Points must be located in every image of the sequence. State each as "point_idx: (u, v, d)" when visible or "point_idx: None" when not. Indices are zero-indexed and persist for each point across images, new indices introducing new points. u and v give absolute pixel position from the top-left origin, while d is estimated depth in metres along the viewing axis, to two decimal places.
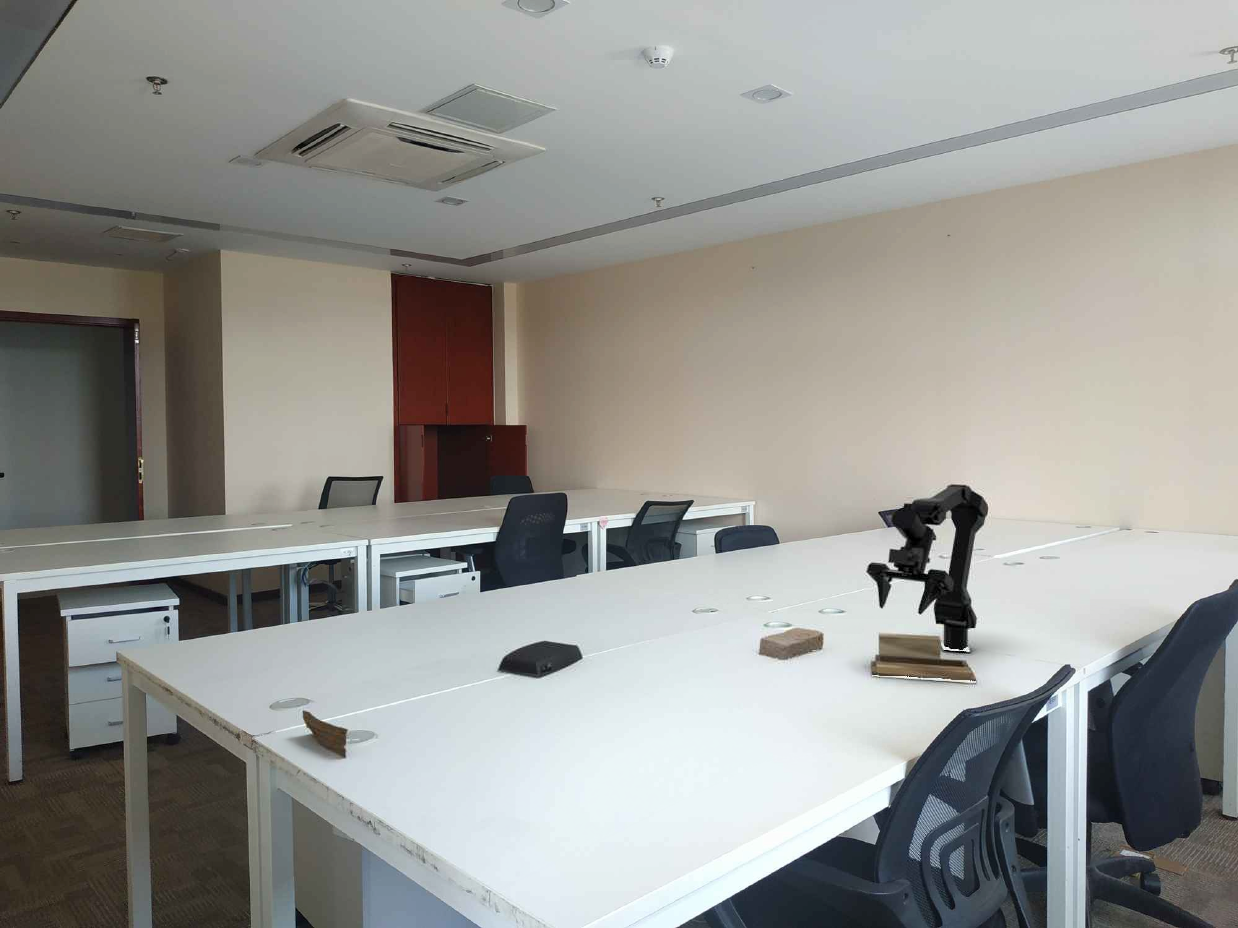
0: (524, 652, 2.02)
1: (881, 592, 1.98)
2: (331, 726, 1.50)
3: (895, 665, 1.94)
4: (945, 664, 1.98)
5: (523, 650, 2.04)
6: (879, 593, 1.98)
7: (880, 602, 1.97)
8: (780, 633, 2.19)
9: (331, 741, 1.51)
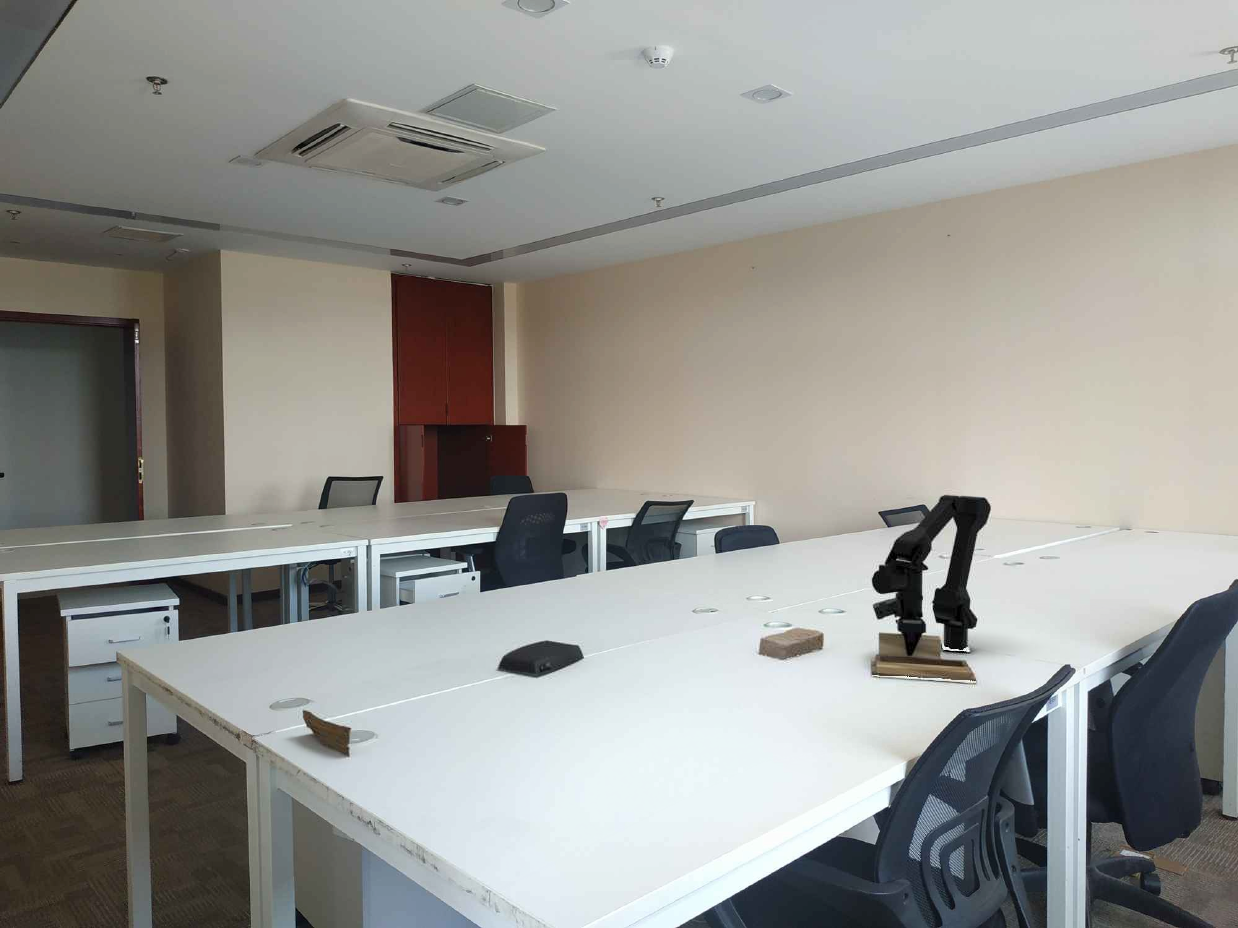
0: (524, 652, 2.03)
1: None
2: (333, 725, 1.51)
3: (895, 665, 1.94)
4: (945, 664, 1.98)
5: (523, 649, 2.05)
6: None
7: None
8: (780, 633, 2.19)
9: (333, 740, 1.51)
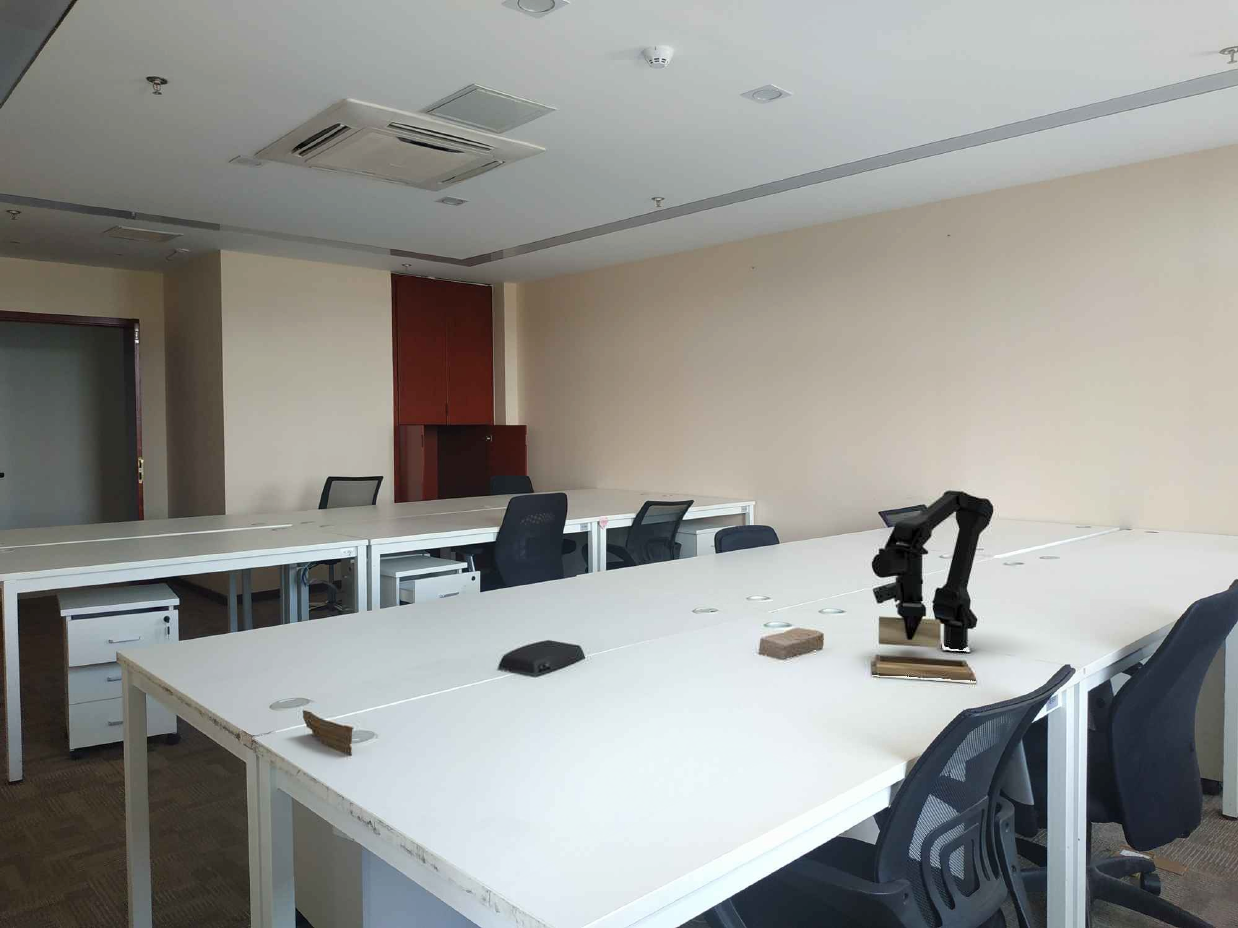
0: (525, 651, 2.03)
1: None
2: (335, 725, 1.51)
3: (895, 665, 1.94)
4: (945, 664, 1.98)
5: (524, 649, 2.06)
6: None
7: None
8: (780, 633, 2.19)
9: (335, 739, 1.52)
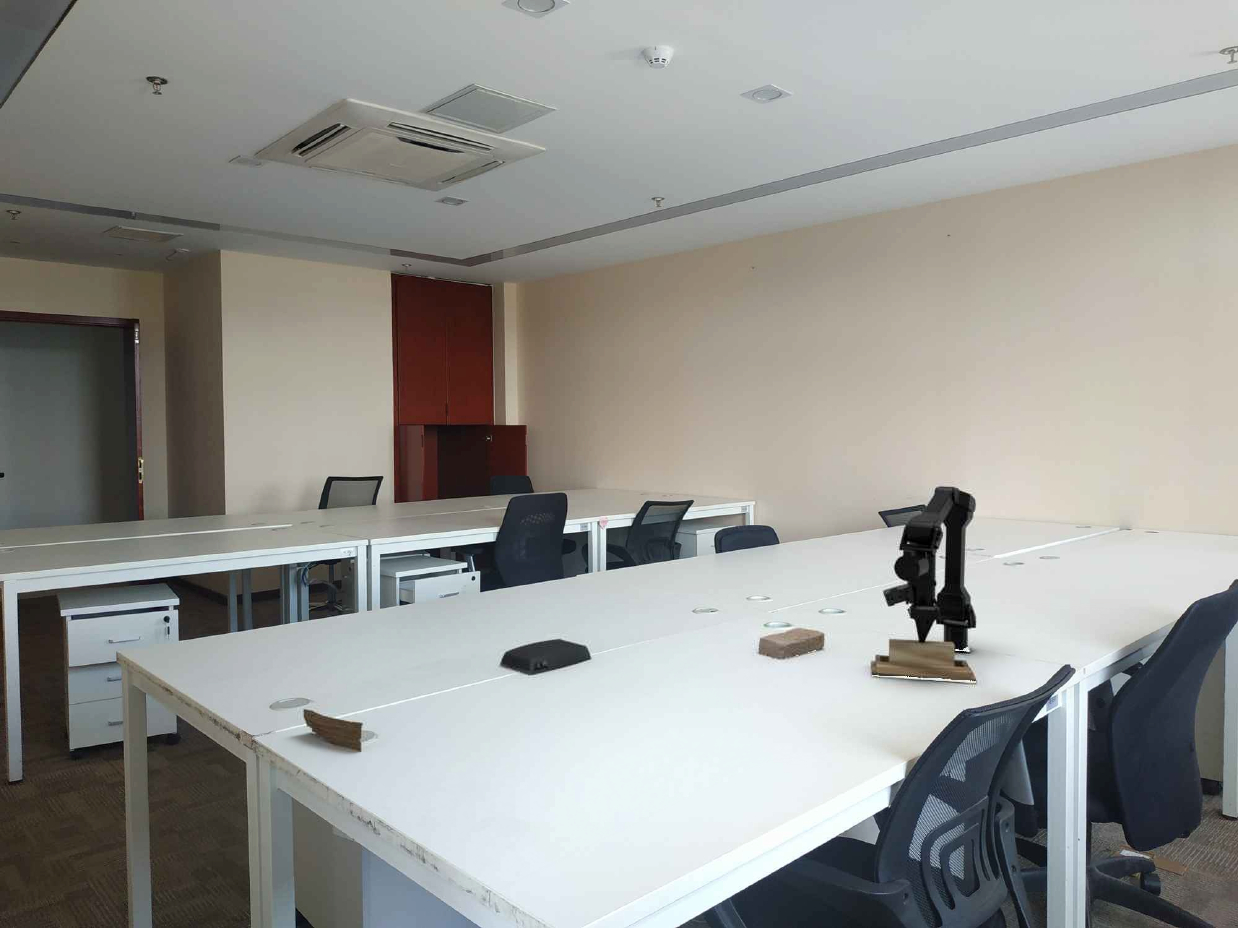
0: (527, 649, 2.05)
1: (916, 627, 1.98)
2: (342, 722, 1.53)
3: (895, 665, 1.94)
4: None
5: (529, 647, 2.08)
6: (916, 628, 1.98)
7: None
8: (781, 633, 2.19)
9: (341, 736, 1.53)
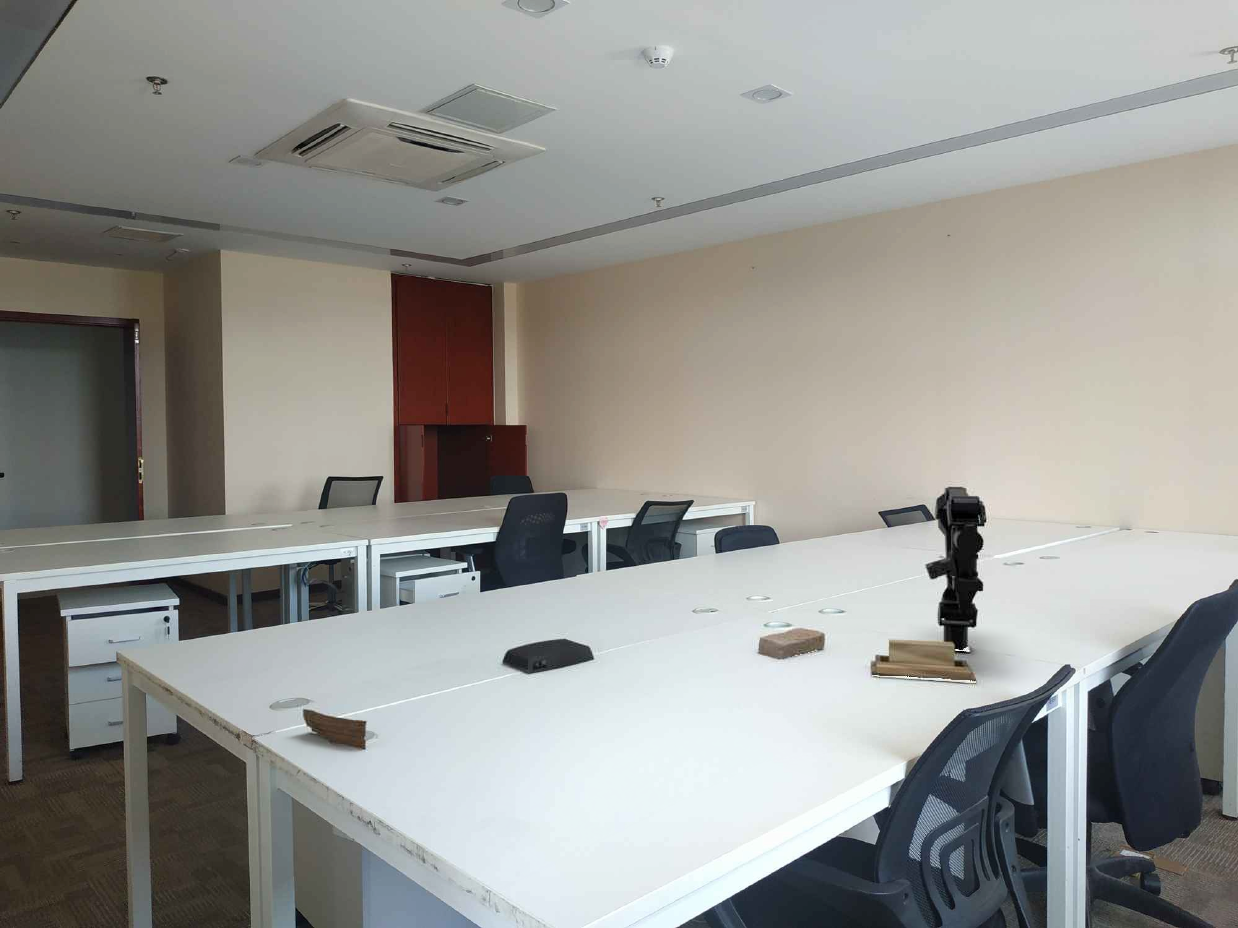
0: (529, 648, 2.06)
1: (957, 599, 2.04)
2: (345, 720, 1.53)
3: (895, 665, 1.94)
4: None
5: (531, 645, 2.09)
6: None
7: (959, 609, 2.04)
8: (781, 633, 2.19)
9: (344, 735, 1.54)
